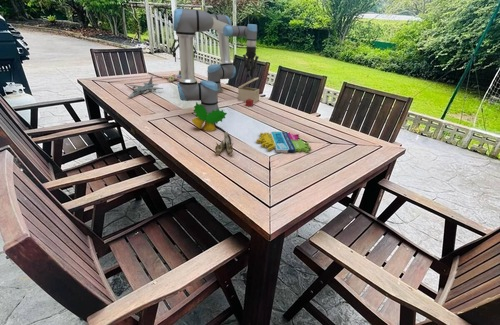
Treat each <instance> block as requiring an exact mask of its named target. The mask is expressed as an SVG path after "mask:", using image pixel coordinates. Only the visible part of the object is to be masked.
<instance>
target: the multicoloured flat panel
mask: <svg viewBox="0 0 500 325" xmlns="http://www.w3.org/2000/svg"><path fill="white" fill-rule="evenodd" d="M299 136H300V135H299V134H298V133H296V134H294V133H291V132H287V131H270V132H264V133H263V132H260V133H259V139H258V138H257V139H256V143H257V144H261V148H263V147H264V148H265V149H267V151H268V152H271V151H272V150H273V149H275V152H276V153H283V154H285V153H287V154H288V153H290V154H293V153H296V152H298V153H301V152H305V153H310V151H311V150H312V149H311V148H312V146H309V142H304V141H303V139H302V138H299Z"/></svg>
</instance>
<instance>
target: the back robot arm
mask: <svg viewBox="0 0 500 325" xmlns="http://www.w3.org/2000/svg"><path fill="white" fill-rule="evenodd" d="M209 14H210V13H209ZM210 15H211V16H212V17H213V20H214V24H213V27H212V28H211V29H210V30H215V33H216V34H217V37H218V46H219V53H220V63H216V64H215V63H214V64H209V65H208V66H207V70H206V72H207V81H212V82H215V83H216V84H217V86H218V94H220V93H222V92H223V88H222V84H221V80H230V79H231V80H232V79H233V78H235V76H236V72H237V69H236V66H235V65H233V62H232V61H231V52H230V43H229V38H233V37H234V38H235V37H236V38H246V47H245V48H246V49H245V50H246V51H245V54H243V55H242V57H243V66H244V69H246V75H247V76H246V78H250V77H249V75H248V74H247V72H248V71H250V76H251V78H253V75H252V74H254V70H255V69H257V65H258V59H259V58H260V57H259V55H257V53H256V52H257V36H258V25H257V24H256V23H255V24H253V23H248V24H247V26H246V25H232V21H231V19H230V17H229V16H228V15H227V14H218V13H217V14H215V13H211V14H210ZM147 73H148V74H150V75H151V76H153V77H154V76H155V77H158V78H160V79H162V77H163V76H160V75H156V74H154V73H151V72H147ZM163 79H164V80H167V79H166V78H163ZM172 82H177V83H179V80H173V81H172Z"/></svg>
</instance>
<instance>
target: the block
mask: <svg viewBox="0 0 500 325" xmlns="http://www.w3.org/2000/svg"><path fill="white" fill-rule="evenodd" d="M245 106H246V107H249V108H250V107H253V106H254V103H253V100H251V99H247V100H246V102H245Z"/></svg>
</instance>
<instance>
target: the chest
mask: <svg viewBox="0 0 500 325" xmlns="http://www.w3.org/2000/svg"><path fill="white" fill-rule="evenodd" d="M247 99H251V100H253V104H255V103H257V102H259V101H260V88H254V87H248V86H244V87H241V88H238V89H237V100H238V101H241V102H245V103H246V100H247Z"/></svg>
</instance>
